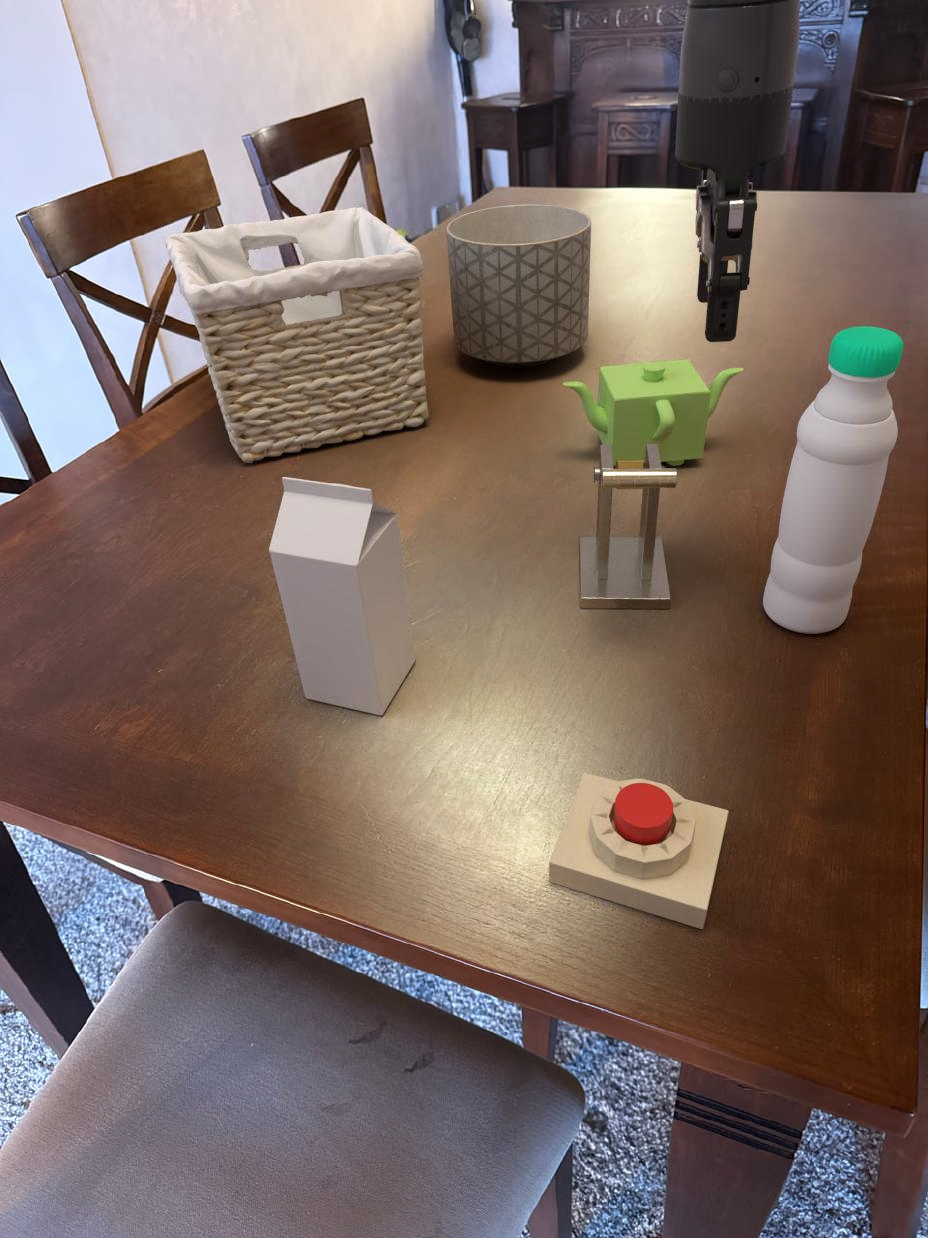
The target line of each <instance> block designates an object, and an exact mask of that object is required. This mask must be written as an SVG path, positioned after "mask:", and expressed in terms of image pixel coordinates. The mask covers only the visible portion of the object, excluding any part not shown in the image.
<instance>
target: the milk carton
mask: <svg viewBox="0 0 928 1238" xmlns="http://www.w3.org/2000/svg"><path fill="white" fill-rule="evenodd" d="M281 482H282V487H283V494H282V499H281V502H280V506H279V510H278V514H277V517H276V521H275V524H274V529H273V532H272V536H271V540H270V542H269V543H270V544H269V548H268V552H269V555H270V559H271V563H272V568H273V572H274V576H275V579H276V583H277V587H278V591H279V595H280V599H281V604H282V607H283V612H284V617H285V620H286V624H287V628H288V632H289V636H290V641H291V644H292V645H291V646H292V648H293V653H294V656H295V661H296V665H297V669H298V672H299V677H300V682H301V684H302V689H303V693H304V697H305V698H306V699H308V700H311V701H316V702H319V703H325V704H329V705H333V706H337V707H341V708H345V709H346V708H347V709H351V710H355V711H359V712H364V713H368V714H371V715H376V716H377V715H378V716H383V715H384V713H385V711H386V710H387V708H388V707H389V705H390V703H391V702H392V700H393V698H394V697H395V695H396V694H397V692H398V690H399V689H400V687H401V685H402V684H403V682H404V680H405V679H406V677H407V675H408V674H409V672H410V670H411V668H413V665H414V664H415V662H416V661H417V657H416V656H417V655H416V647H415V639H414V633H413V624H412V617H411V616H412V615H411V610H410V609H411V608H410V601H409V594H408V586H407V577H406V572H405V571H406V570H405V562H404V555H403V546H402V539H401V532H400V531H401V529H400V523H399V517H398V512H396V511H394V510H392V509H389V508H386V507H385V506H382V505H380V504H377V503H376V502H374V497H373V491H372V489H371V488H366V487H359V486H353V485H348V484H343V483H335V482H333V483H329V482H324V481H317V480H308V479H301V478H295V477H289V476H283V477H282V478H281Z"/></svg>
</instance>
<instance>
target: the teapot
mask: <svg viewBox="0 0 928 1238" xmlns="http://www.w3.org/2000/svg"><path fill="white" fill-rule="evenodd" d="M744 370H745V368H743V367H730V368H726V369H723V370H721V371H720V372H719V373H718V374H717V375H715V377H714V379H713V380H712V382H711V383H710V385H709V387H708V386H707V384H706V383H705V381H704V380H703V378H702V376H701V375H700V374H699V373H698V371H697V369H696V368H695V367H694V365H693V364H692V362H691V361H690V359H676V360H662V361H648V362H643V361H635V362H633V363H629V364H616V365H605V366H604V365H603V366H600V367H599V369H598V391H597V392H598V394H597V403H596V401H595V399H594V395H593V393H592V391H591V389H590V387H589V386H588V385H587V384H586V383H584V382H582V381H565V382H563V383H562V386H565V387H567V388H569V389H570V390H571V389H572V391H574V392H576V393H577V395H578V396H579V399H580V400H581V403H582V406H583V411H584V413H585V416H586V418H587V420H588V423H589V424H590V425H591V426H592V427H593V428H594V429H595V430H596V431H597V434H598V436H599V439H600V441H601V443H602V444H601V445H612V456H613V467H614V466H615V467H616V461H617V460H641V461H644V464H645V455H646V445H647V444H658V448H659V454H660V460H661V463H662V462H663V463H664V462H665V464H667V465H669V466H672V467H673V466H677V467H678V466H681V465H683V464H684V463H685V460H697V459H703V458H704V453H705V452H704V451H705V443H706V436H707V435H706V433H707V429H708V428H707V427H708V420H709V419H710V418H711V416H712V415H713V414H714V412H715V410H716V409H717V406H718V404H719V402H720V398H721V396H722V394H723V391H724V390H725V387H726V386H727V384H728V382H729V381H730V380H731V379H732V378H734V377H735V376H737V375H738V374H740V373H741V372H743V371H744Z"/></svg>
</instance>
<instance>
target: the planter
mask: <svg viewBox="0 0 928 1238" xmlns="http://www.w3.org/2000/svg"><path fill="white" fill-rule="evenodd" d="M445 230H446V231H445V232H446V245H447V258H448V274H449V288H450V289H449V290H450V300H451V318H452V331H453V342H454V345H455V347H456V348H457V349H458V350H459V351H460V352H462V353H463V354H465V355H467V356H470V357H472V358H475V359H478V360H483V361H485V362H487V363H490V364H493V365H496V366H499V367H504V368H511V369H513V368H514V369H522V368H532V367H537V366H540V365H543V364H546V363H549V362H552V361H553V360H556V359H557V358H559V357H563V356H565V355H568V354H571V353H573V352H574V351H576V350H578V349H579V348H581V347H582V346H583V345H584V344H585V343H586V341H587V340H588V337H589V314H590V313H589V311H590V285H591V284H590V281H591V279H590V277H591V247H592V219H591V217H590V215H588V214H587V213H585V212H583V211H581V210H579V209H576V208H572V207H567V206H561V205H554V204H539V203H536V204H535V203H533V204H532V203H527V204H525V203H524V204H509V205H500V206H492V207H487V208H482V209H478V210H474V211H470V212H467V213H463V214H462V215H459V216H457V217H456V218H453V219H452V220H451V221H450V222H448V224H447V225H446V228H445Z"/></svg>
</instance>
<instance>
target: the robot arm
mask: <svg viewBox="0 0 928 1238" xmlns="http://www.w3.org/2000/svg"><path fill="white" fill-rule="evenodd" d="M686 3H687V6H686V9H685V10H686V11H685V18H684V19H685V20H684V26H683V31H682V38H681V45H680V56H679V73H678V94H677V110H676V111H677V114H676V133H675V150H674V151H675V152H674V156H675V159H676V161H677V162H678V163H679V164H680V165H682V166H683V167H686V168H689V169H693V170H700V171H701V177H700V178H701V179H700V180H701V181H700V185H696V189H695V211H696V213H695V235H696V236H697V239H698V240H697V241H696V248H697V249H698V253H700V254H699V261H698V277H697V288H696V289H697V290H696V297H697V301H698V302H699V303H702V304H706V303H707V304H706V314H705V326H704V336H705V340H706V341H707V342H709V343H726V342H729V343H730V342H732V341H734V339H736V337H737V329H738V320H739V311H740V310H739V309H740V302H741V301H740V299H741V292H743V291H747V290H748V288H749V287H748V286H750V282H751V277H750V270H751V269H750V267H751V258H752V250H753V237H754V228H755V218H756V212H757V209H758V192H757V190H754V187H753V186H754V185H753V181H750V172H751V170H752V169H754V168H755V167H757V166H766V165H769V164H771V163H775V162H776V161H778V160H780V159H781V158H782V157H783V155H784V154H785V152H786V150H787V141H788V134H789V133H788V132H789V127H790V126H789V125H790V117H791V109H792V103H793V102H792V101H793V93H794V84H795V76H796V69H797V60H798V52H799V44H800V24H801V23H800V20H801V19H800V13H801V12H800V10H801V9H800V8H801V0H686ZM729 261H733V262H734V263H735V272H728V271H729Z"/></svg>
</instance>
